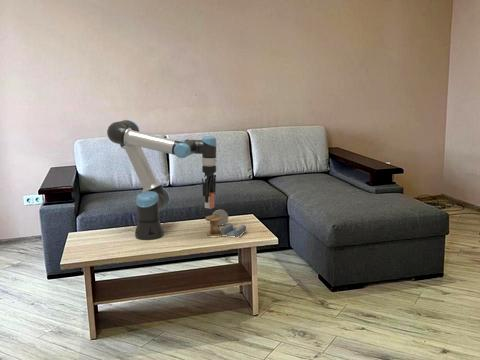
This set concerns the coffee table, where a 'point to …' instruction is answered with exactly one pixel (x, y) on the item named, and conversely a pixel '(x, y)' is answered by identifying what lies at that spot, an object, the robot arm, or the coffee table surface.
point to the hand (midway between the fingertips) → (209, 206)
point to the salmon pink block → (211, 200)
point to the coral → (224, 216)
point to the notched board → (233, 230)
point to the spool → (214, 225)
